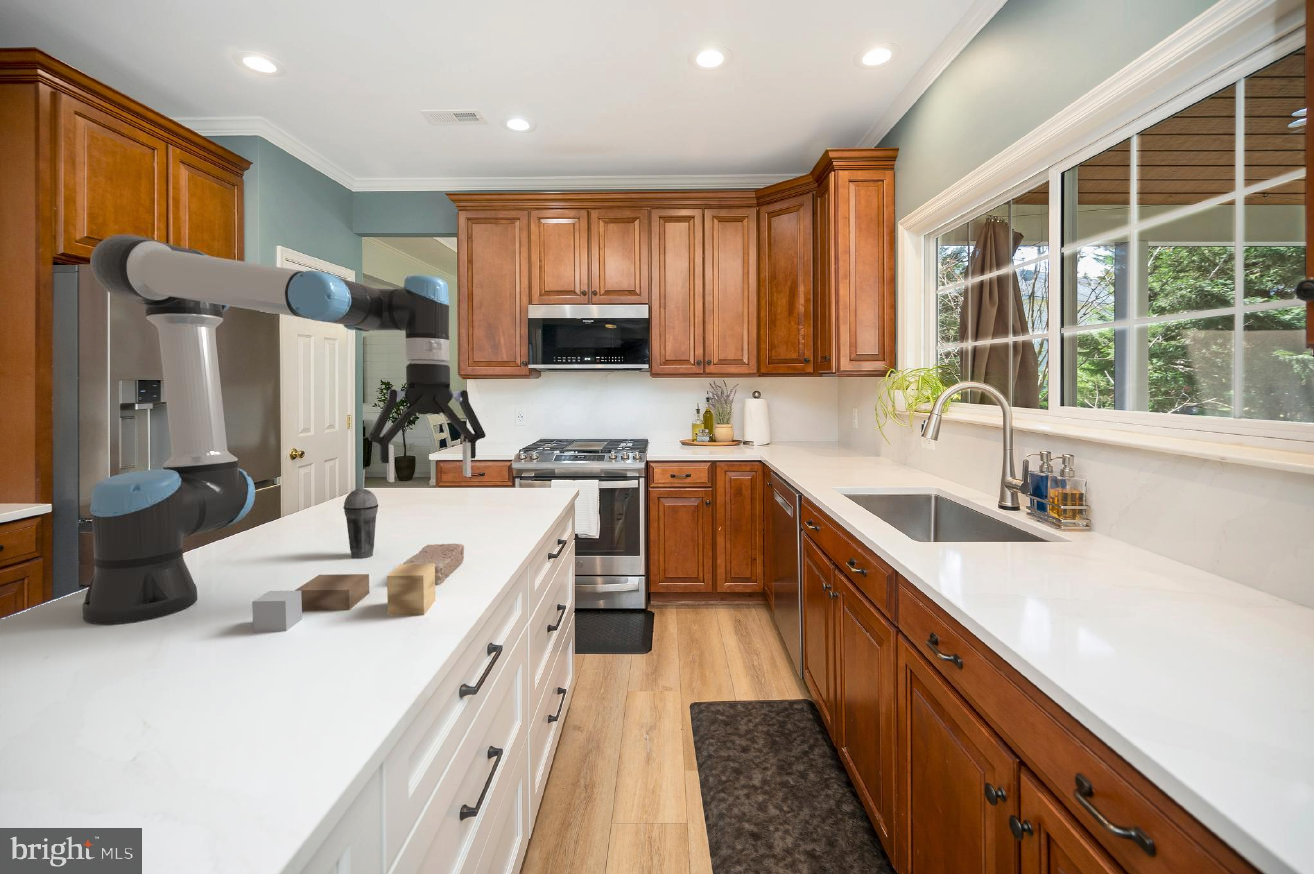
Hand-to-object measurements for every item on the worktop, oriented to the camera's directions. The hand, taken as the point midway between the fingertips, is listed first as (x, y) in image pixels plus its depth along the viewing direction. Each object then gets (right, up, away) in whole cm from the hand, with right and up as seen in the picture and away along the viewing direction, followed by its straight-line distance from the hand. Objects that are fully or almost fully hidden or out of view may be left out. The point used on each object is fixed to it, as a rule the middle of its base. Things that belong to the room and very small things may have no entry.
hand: (430, 478), depth 112 cm
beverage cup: (-26, -20, +28) cm, 43 cm away
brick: (-5, -22, +15) cm, 27 cm away
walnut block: (-16, -22, -3) cm, 28 cm away
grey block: (-19, -23, -14) cm, 33 cm away
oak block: (-1, -23, -5) cm, 23 cm away
